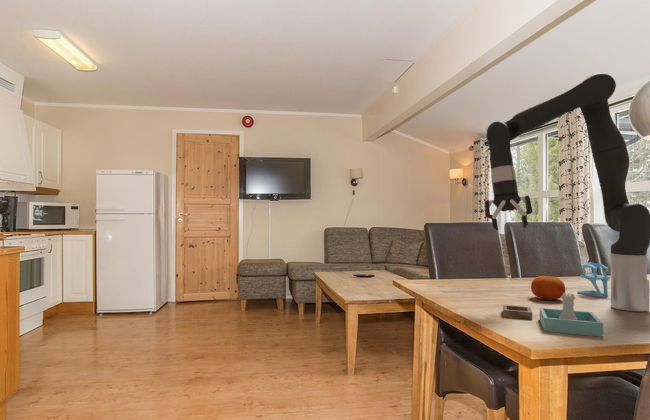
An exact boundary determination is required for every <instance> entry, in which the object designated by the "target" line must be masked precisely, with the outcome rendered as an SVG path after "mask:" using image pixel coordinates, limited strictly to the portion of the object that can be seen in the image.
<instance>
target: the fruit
mask: <svg viewBox="0 0 650 420" xmlns="http://www.w3.org/2000/svg"><path fill="white" fill-rule="evenodd" d="M530 289H531V292H532V294H533V295H534V296H535V297H536V298H538V299H540V300H544V301H545V300H547V301H554V300H559V299H562V298H561V296H562V295H563V293H566V286H565V283H564V282H563V280H562V279H560V278H559V277H555V276H551V275H550V276H549V275H539V276H537V277H535V278H534V279H533V280H532V281H531V283H530Z"/></svg>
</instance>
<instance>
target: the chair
mask: <svg viewBox="0 0 650 420" xmlns="http://www.w3.org/2000/svg"><path fill="white" fill-rule="evenodd" d="M581 268H582V274H580V278H583V279H586V280H588V281H589V282H590V283H591V284H592V286H593V287H594V289H593V290H592V289H591V290H589V289H587V290H577V292H576V293H577V294H579V295H586V296H592V297H598V298H604V297H605V298H608V297H609V293H608V292H609V291H608V290H609V289H608V281H609V280H611V276H608V271H609V267H607V266H606V265H605V264H602V263H600V262H599V263H598V262H596V263H595V262H591V261H588V262H585V263H583V264H582V265H581ZM586 268H587V269H588V268H590V269H592V273H590V274H586V273H587V271H586ZM598 268H603V269H604V272H603V275H600V274H598V273H597V271H598ZM600 280H601V282H602V289H603V292H602V291H601V289H600V288H599V286H598V283H597V281H600Z"/></svg>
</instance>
